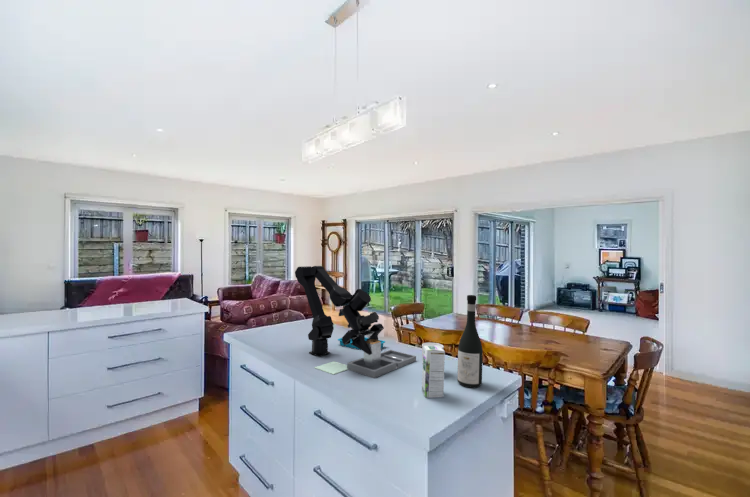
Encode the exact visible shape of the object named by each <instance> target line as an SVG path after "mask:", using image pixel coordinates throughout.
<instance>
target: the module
mask: <svg viewBox="0 0 750 497" xmlns="http://www.w3.org/2000/svg"><path fill="white" fill-rule="evenodd" d="M380 340H381V339H378V340H376V339H370V340H367V341H366V343H367V345H368V347H369V349H370V351H371V355H369V354H367V353H366V352H364V351H363V358H364V367H366V368H369V369H372V370H376V369H378V368H380V361H381V353H382V352H381V351H382V348H381V342H380Z"/></svg>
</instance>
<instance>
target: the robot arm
mask: <svg viewBox="0 0 750 497" xmlns="http://www.w3.org/2000/svg"><path fill="white" fill-rule="evenodd" d="M294 276H295V278H296V280H297V283H298V284H299V285H301V286H302V287H303V289H304V293H305V296H306V300H307V301H308V304H309V308H310V311H311V314H312V323H311V328H312V329H311V330H310V331H309V332H308V334H307V338H308V340H309V341H311V350H310V351H308V353H309V354H311V355H314V356H317V357H321V356H324V355H328V354H330V353H331V351H329V343H328V342H329V340H328V339H331V337H332V335H333V332H334V325H335V324H334V322H333V320H332V317H331V315H327V314H326V313H325V311H324V308H323V305H322V302H321V299H320V296H319V292H318V290H317V287H316V282H315V281H316V279H317V281H318V282H319V283H320V284H321V285H322V286H323V288H324V289H325V290H326V291H327V293H328V294H329V300H330V301H331V303H332V304H333V306H335V307H336V308H339V307H342V308H340V309H339V312H338V317H344V318H345V320H346V322H347V328H348V330H347V331H346V333H344V335H343V336H342V337H341V338H342V342H343V344H344V345H347V344H350V339H352V343H351V345H354V346H356V347H357V348H359V349H361V351H362V352H363V353H364V352H366V353H367V354H369V355H371V351H370V349H369V347H368V345H367V343H366V341H365V337H366V336H367V338H368V339H367V340H370V339H376V340H379V334H380V333H381V332H382V331H383V330H384V329H385V327H384V326H383V323H378V322H379V321H378V320H379V319H380V316H379V314H378V313H377V312H376V311H374V312H370V313H369V314H368V315H361V313H360V312H362V311H363V310H364V309H365V308H366V306H368V305H369V303H370V302H371V301H372V298H371V295H370V294H369V293H367V292H366V291H364V290H363V289H362V288H356V290H355V292H354V293H353V294H351V293H350V291H349V290H347V289H346V288H344V287H342V286H340V285H338V283H337V282H336V281H335V280H334V279H333V278H332V276H331V275H330V274H329V273H328V272H327V271H326V270H325V267H324V266H322V265H314V266H307V265H306V266H297V267H296V269H295V270H294ZM350 328H351V329H350ZM359 349H358V350H359Z"/></svg>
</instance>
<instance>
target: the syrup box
mask: <svg viewBox="0 0 750 497" xmlns="http://www.w3.org/2000/svg"><path fill="white" fill-rule="evenodd" d="M445 354H446V351H445V350H444V349H442V348H441V347H440V346H435V345H427V346H424V349H423V364H422V371H421V372H422V375H421V377H422V378H421V392H422V394H423V396H424V397H425V398H426V399H427V398H430V399H431V398H432V399H434V398H444V387H445V386H444V385H445V383H444V382H445V363H446V362H445V360H446V356H445Z"/></svg>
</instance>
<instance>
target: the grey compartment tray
mask: <svg viewBox="0 0 750 497" xmlns="http://www.w3.org/2000/svg"><path fill="white" fill-rule="evenodd" d="M384 355H389V356H393V357H396V358H400V359H403V361H397V360H394V359H390V358H386V357H384ZM414 362H417V355H413V354H410V353H409V354H408V353H404V352H402V351H397V350H393V349H389V350H386V351H382V352H381V361H380V368H378V369H376V370H372V369H369V368H366V367H364V357H360V358H359V359H355V360H353V361H349V362H347V364H346V365H347V369H348V370H347V371H351V372H354V373H358V374H360V375H363V376H366V377H369V378H373V379H376V378H378V377H381V376H383V375H386V374H388V373H391V372H392V371H394V370H397V369H401V368H402V367H404V366H405V367H406V366H407V365H409V364H412V363H414Z"/></svg>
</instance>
